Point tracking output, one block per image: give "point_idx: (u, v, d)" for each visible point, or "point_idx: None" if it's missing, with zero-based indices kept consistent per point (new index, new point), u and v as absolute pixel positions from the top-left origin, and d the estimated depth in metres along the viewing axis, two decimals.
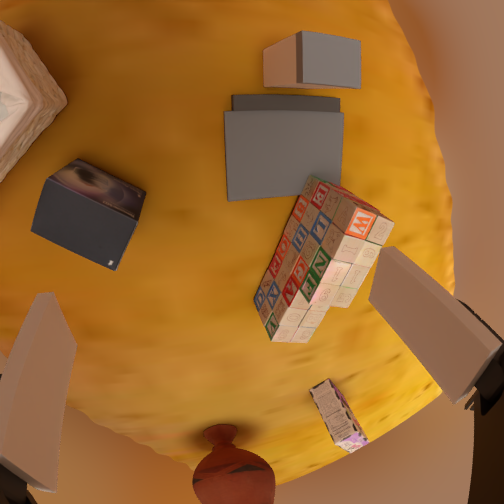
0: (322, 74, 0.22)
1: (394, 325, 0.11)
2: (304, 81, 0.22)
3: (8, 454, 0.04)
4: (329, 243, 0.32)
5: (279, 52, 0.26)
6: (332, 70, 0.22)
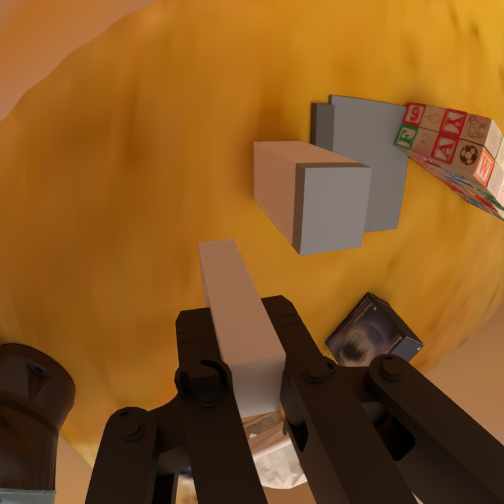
0: (354, 224, 0.20)
1: None
2: (360, 245, 0.21)
3: None
4: (480, 188, 0.24)
5: None
6: (350, 212, 0.20)
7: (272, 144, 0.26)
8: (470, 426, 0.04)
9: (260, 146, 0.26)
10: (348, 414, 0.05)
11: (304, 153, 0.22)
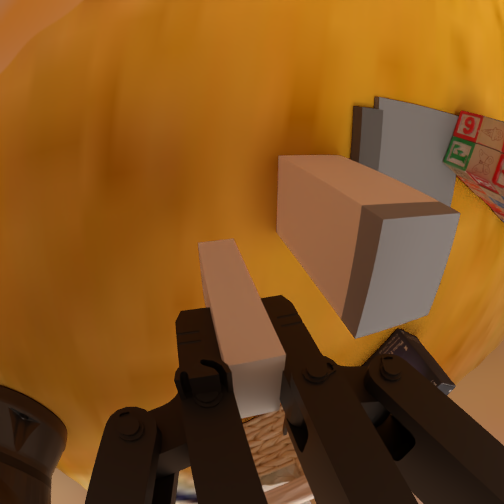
0: (427, 290, 0.13)
1: None
2: (427, 313, 0.14)
3: None
4: None
5: None
6: (426, 275, 0.13)
7: (306, 161, 0.19)
8: (470, 426, 0.04)
9: (290, 164, 0.18)
10: (348, 414, 0.05)
11: (359, 181, 0.15)
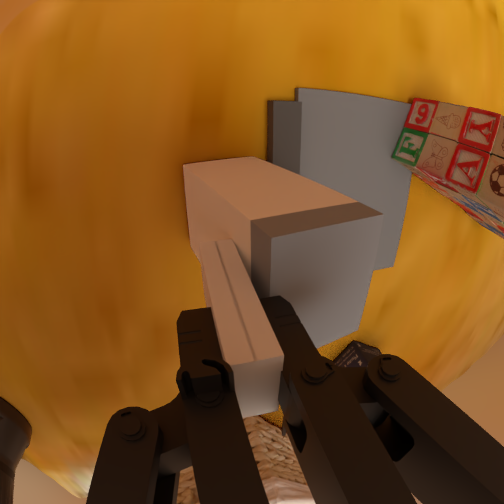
0: (351, 305, 0.12)
1: None
2: (356, 328, 0.14)
3: None
4: None
5: None
6: (347, 290, 0.12)
7: (210, 168, 0.17)
8: (469, 427, 0.04)
9: (191, 173, 0.17)
10: (346, 415, 0.05)
11: (262, 186, 0.14)
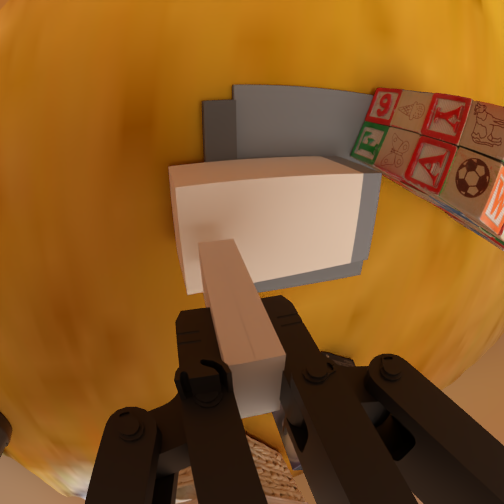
0: None
1: None
2: None
3: None
4: (489, 232, 0.14)
5: None
6: None
7: (217, 176, 0.15)
8: (471, 426, 0.04)
9: (225, 184, 0.14)
10: (348, 414, 0.05)
11: (296, 166, 0.17)
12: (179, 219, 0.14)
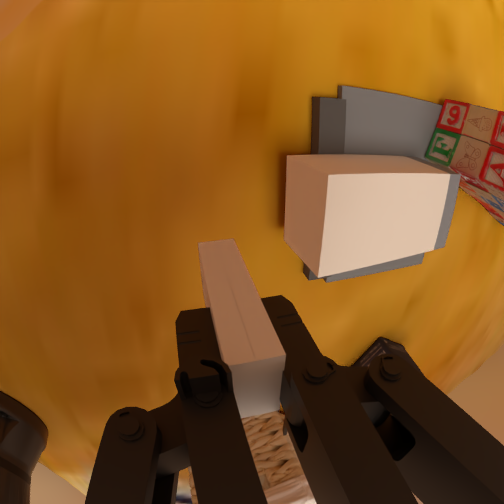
0: None
1: None
2: None
3: None
4: None
5: None
6: None
7: (351, 168, 0.16)
8: (470, 426, 0.04)
9: (365, 175, 0.15)
10: (348, 414, 0.05)
11: (399, 164, 0.18)
12: (326, 204, 0.15)
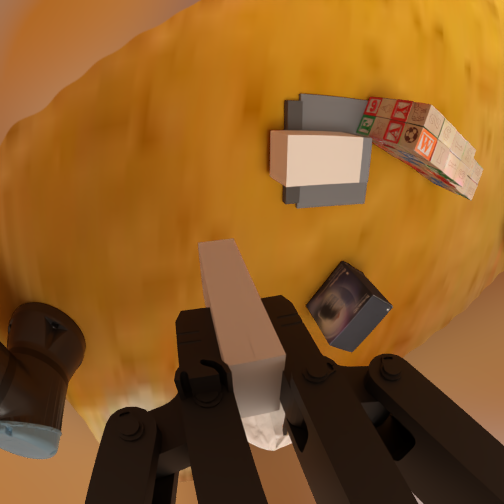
0: None
1: None
2: None
3: None
4: (428, 164, 0.31)
5: None
6: None
7: (301, 133, 0.32)
8: (470, 426, 0.04)
9: (307, 136, 0.31)
10: (348, 414, 0.05)
11: (332, 133, 0.34)
12: (288, 149, 0.31)
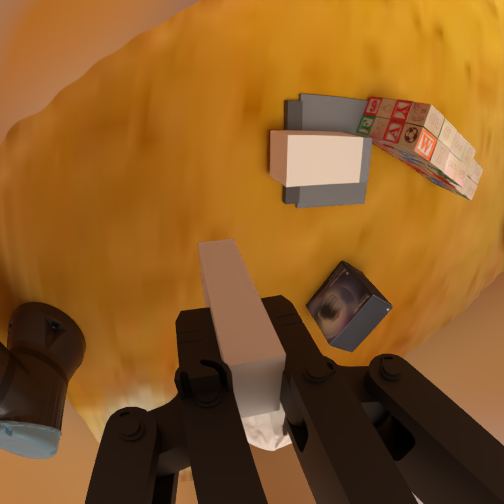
0: None
1: None
2: None
3: None
4: (428, 164, 0.31)
5: None
6: None
7: (301, 133, 0.32)
8: (470, 426, 0.04)
9: (306, 136, 0.31)
10: (348, 414, 0.05)
11: (332, 133, 0.34)
12: (288, 149, 0.31)
